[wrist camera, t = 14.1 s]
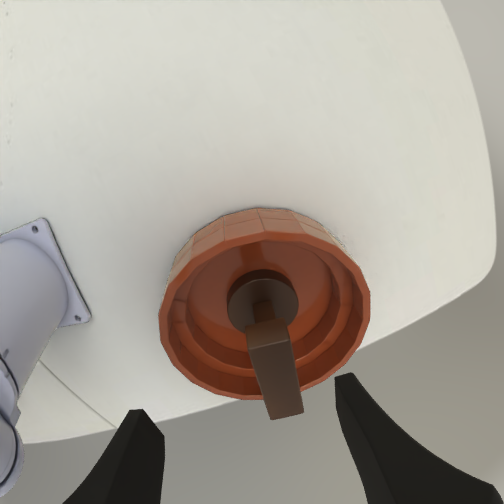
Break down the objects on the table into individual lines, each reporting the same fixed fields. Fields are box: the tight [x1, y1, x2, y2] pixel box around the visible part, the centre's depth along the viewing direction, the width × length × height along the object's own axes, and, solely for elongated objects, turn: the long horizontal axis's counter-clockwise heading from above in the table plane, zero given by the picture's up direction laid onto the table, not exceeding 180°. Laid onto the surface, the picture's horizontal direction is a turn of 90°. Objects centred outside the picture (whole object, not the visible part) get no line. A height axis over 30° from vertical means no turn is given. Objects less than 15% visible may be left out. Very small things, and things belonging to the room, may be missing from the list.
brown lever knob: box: [227, 269, 304, 420], centre depth 17 cm, size 4×6×7 cm
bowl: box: [158, 208, 370, 400], centre depth 19 cm, size 12×12×4 cm
